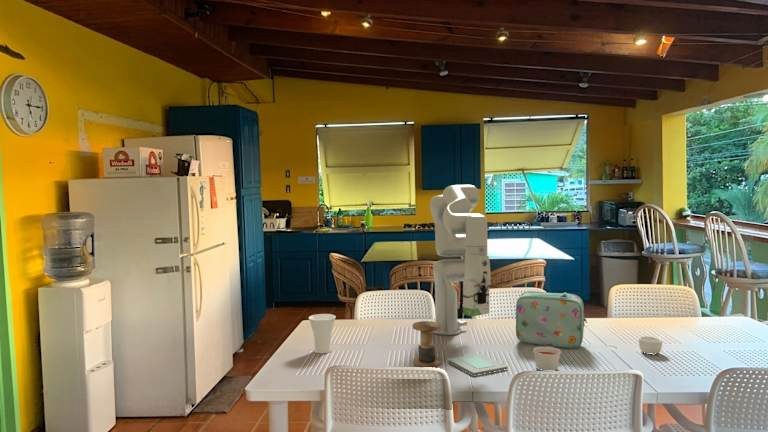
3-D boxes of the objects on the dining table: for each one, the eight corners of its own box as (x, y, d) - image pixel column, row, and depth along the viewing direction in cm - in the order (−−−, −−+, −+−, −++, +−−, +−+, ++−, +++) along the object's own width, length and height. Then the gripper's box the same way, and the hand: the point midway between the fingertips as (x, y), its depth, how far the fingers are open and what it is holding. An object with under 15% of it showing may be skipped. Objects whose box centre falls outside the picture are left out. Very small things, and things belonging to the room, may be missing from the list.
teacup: (665, 356, 194) (665, 342, 194) (642, 356, 196) (642, 341, 195) (655, 348, 204) (655, 334, 204) (634, 348, 205) (634, 334, 205)
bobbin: (432, 357, 198) (431, 319, 197) (446, 365, 189) (446, 326, 188) (408, 361, 194) (407, 323, 193) (421, 369, 185) (421, 329, 184)
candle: (555, 363, 189) (555, 346, 188) (564, 372, 180) (564, 354, 179) (530, 364, 188) (530, 346, 188) (538, 373, 179) (538, 354, 179)
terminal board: (480, 356, 198) (480, 353, 198) (507, 369, 183) (507, 366, 183) (448, 362, 192) (448, 358, 192) (473, 376, 177) (473, 372, 177)
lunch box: (587, 344, 211) (587, 291, 210) (585, 351, 202) (585, 296, 201) (519, 337, 222) (519, 286, 221) (514, 344, 213) (514, 291, 212)
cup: (314, 357, 200) (314, 321, 199) (305, 349, 209) (304, 315, 209) (340, 352, 205) (339, 318, 204) (330, 345, 214) (329, 312, 214)
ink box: (472, 317, 182) (471, 282, 181) (462, 314, 186) (462, 280, 185) (490, 313, 187) (490, 280, 186) (480, 310, 191) (480, 278, 190)
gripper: (500, 252, 179) (500, 305, 180) (471, 247, 195) (471, 296, 196) (482, 254, 176) (482, 308, 177) (453, 248, 191) (454, 298, 192)
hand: (476, 301), depth 186 cm, fingers closed on ink box, 5 cm apart
